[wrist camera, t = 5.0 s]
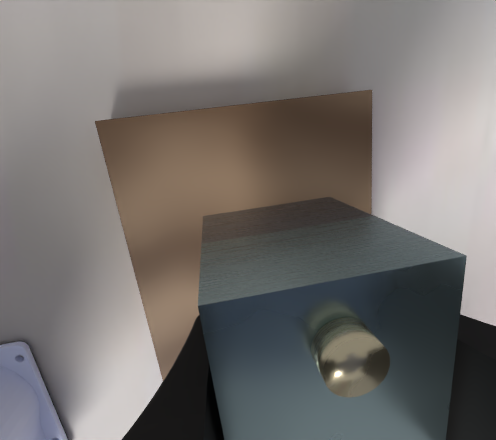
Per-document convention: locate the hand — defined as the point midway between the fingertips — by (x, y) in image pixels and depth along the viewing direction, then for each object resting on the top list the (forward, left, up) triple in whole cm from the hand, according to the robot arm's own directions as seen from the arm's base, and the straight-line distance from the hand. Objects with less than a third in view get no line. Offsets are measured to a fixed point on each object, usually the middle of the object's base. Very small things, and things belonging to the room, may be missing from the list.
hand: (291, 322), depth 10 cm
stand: (0, 0, -9) cm, 9 cm away
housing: (0, 0, -2) cm, 2 cm away
